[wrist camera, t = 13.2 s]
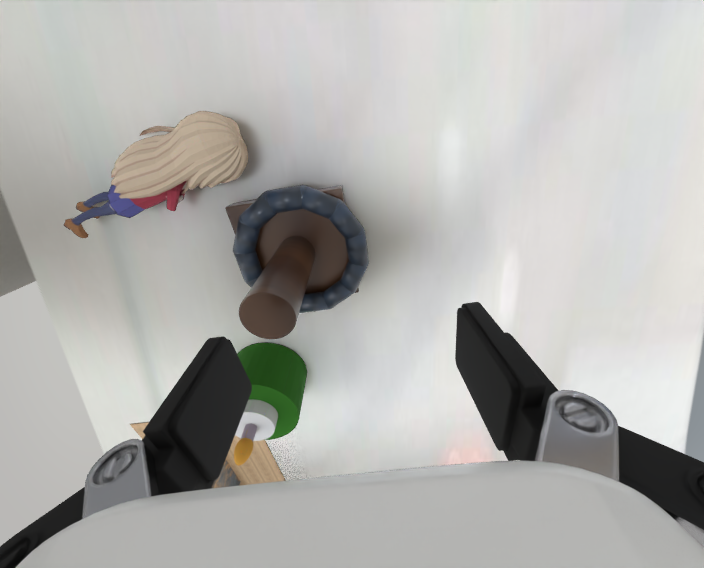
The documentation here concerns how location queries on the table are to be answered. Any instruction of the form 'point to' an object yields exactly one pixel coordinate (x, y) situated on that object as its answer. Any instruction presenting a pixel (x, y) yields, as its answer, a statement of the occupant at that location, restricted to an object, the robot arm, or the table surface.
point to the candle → (269, 395)
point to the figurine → (169, 167)
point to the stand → (290, 266)
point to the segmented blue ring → (314, 203)
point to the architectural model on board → (224, 479)
